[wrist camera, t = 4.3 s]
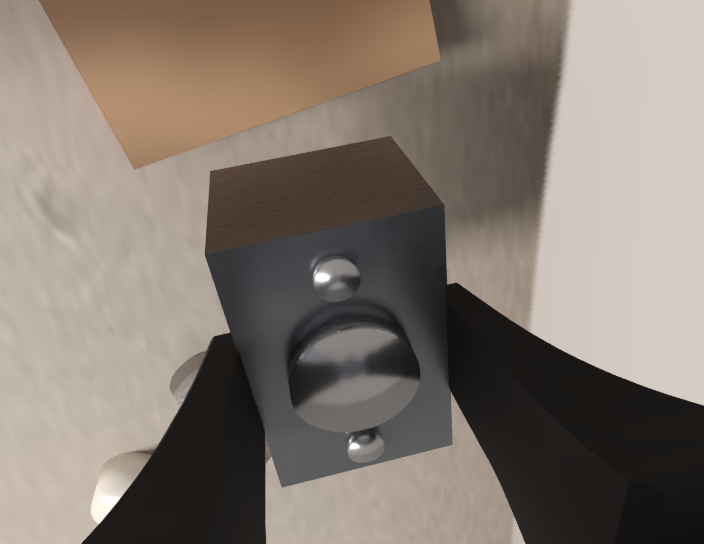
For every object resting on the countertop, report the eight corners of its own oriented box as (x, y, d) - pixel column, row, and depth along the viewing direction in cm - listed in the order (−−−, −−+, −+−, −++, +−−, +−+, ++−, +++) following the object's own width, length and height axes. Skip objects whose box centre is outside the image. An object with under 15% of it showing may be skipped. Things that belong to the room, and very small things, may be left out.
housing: (271, 377, 17) (284, 508, 13) (210, 171, 13) (203, 272, 9) (409, 345, 17) (460, 463, 13) (390, 136, 13) (455, 219, 10)
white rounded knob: (86, 465, 25) (76, 502, 24) (150, 442, 25) (145, 477, 24) (121, 502, 27) (114, 539, 25) (181, 481, 27) (177, 516, 26)
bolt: (172, 363, 23) (167, 407, 21) (230, 343, 23) (230, 384, 21) (231, 450, 27) (231, 496, 24) (281, 432, 27) (285, 476, 24)
